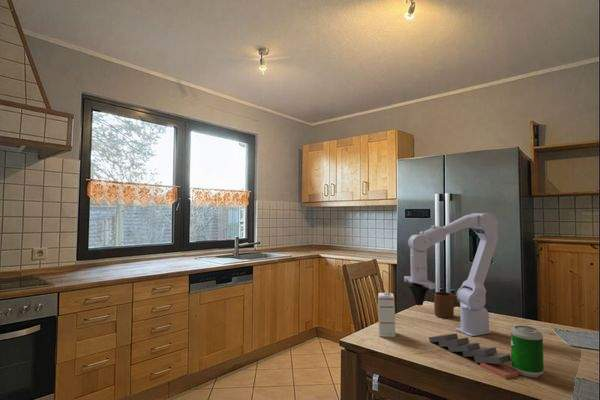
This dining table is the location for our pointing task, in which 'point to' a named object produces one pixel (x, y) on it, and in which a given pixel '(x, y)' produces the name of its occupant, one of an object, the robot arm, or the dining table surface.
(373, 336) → the dining table surface
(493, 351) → the domino
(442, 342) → the domino
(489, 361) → the domino
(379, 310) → the syrup box
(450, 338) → the domino
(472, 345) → the domino
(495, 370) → the domino
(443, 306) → the mug
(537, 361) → the soda can
